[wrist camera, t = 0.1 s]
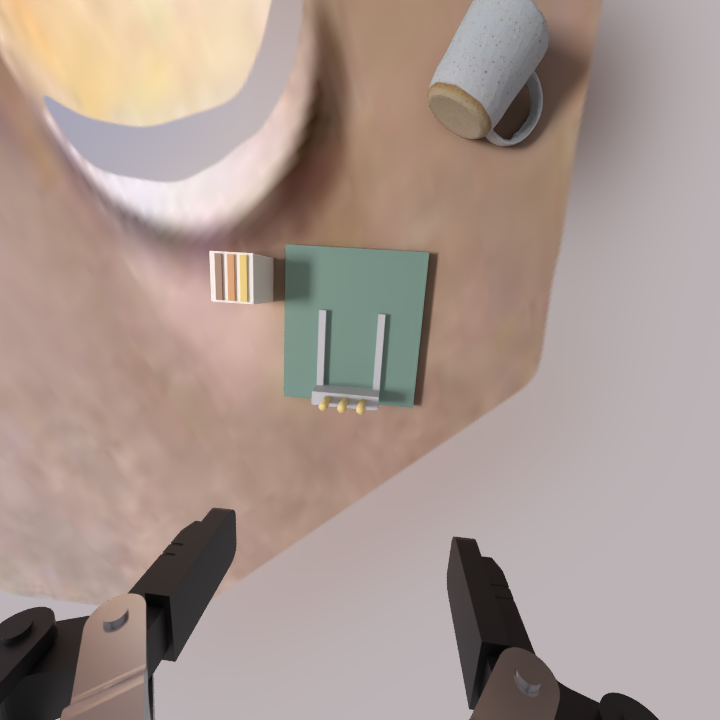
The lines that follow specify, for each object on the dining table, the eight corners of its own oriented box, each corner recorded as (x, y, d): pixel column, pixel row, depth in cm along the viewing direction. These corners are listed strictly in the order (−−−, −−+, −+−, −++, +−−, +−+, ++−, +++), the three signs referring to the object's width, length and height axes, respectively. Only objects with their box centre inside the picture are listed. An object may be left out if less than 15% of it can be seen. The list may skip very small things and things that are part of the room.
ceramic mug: (417, 116, 34) (426, 71, 27) (464, 32, 32) (487, -42, 25) (503, 172, 35) (535, 143, 27) (554, 93, 33) (603, 38, 25)
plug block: (236, 255, 39) (208, 250, 33) (273, 258, 39) (252, 253, 33) (237, 298, 40) (210, 301, 34) (273, 301, 40) (252, 304, 34)
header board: (288, 245, 38) (268, 237, 32) (428, 253, 37) (435, 247, 31) (286, 393, 42) (268, 412, 36) (412, 404, 41) (416, 426, 35)
